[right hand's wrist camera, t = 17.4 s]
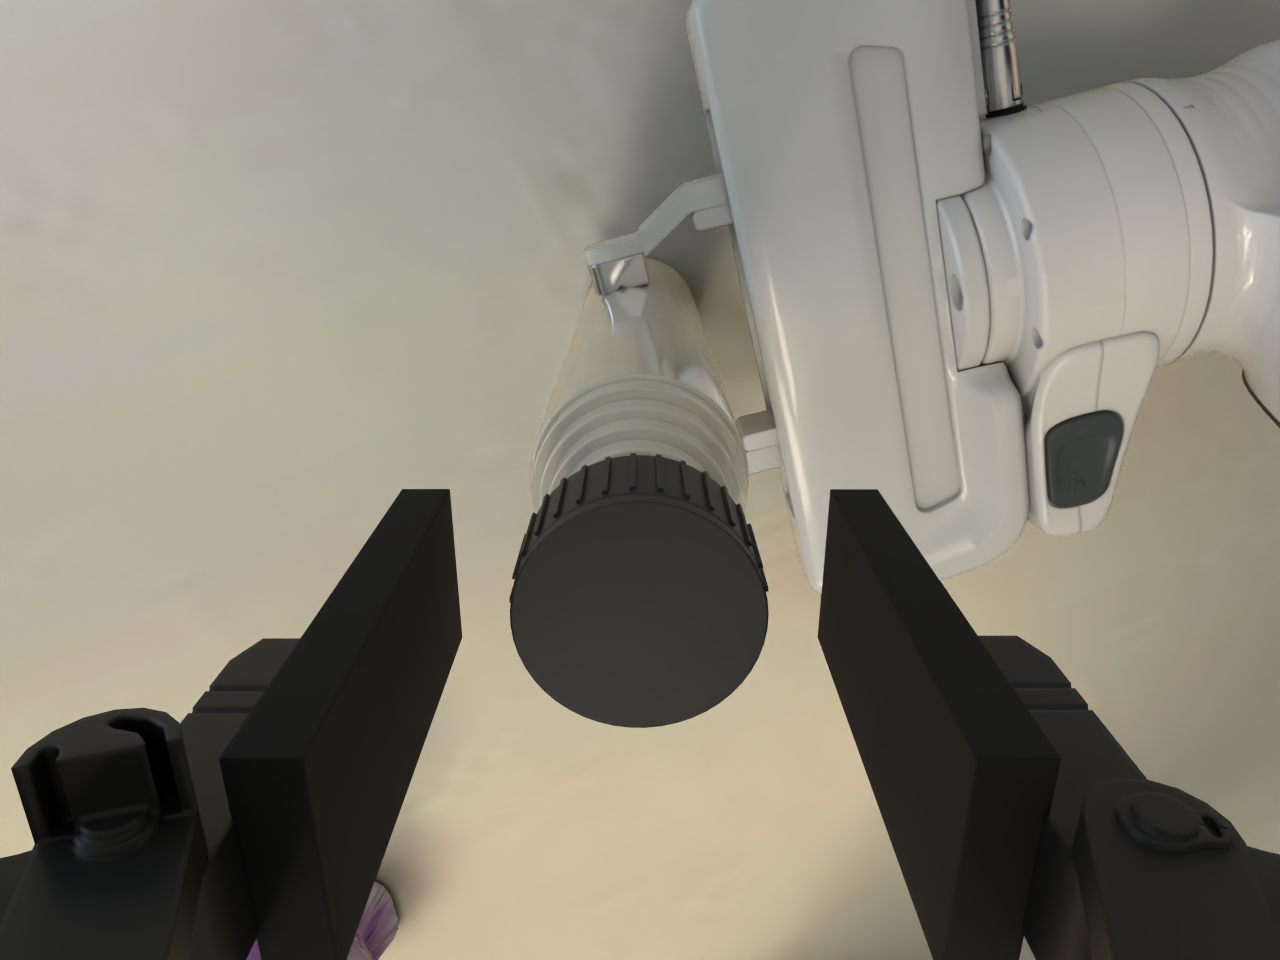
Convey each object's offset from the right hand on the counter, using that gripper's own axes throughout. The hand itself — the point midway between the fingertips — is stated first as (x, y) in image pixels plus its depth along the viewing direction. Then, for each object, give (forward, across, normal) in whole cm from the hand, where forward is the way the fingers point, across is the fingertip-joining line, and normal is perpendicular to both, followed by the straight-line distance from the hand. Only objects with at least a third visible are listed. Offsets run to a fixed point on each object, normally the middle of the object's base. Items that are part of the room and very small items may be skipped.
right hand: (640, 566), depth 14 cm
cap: (-1, 0, 0) cm, 1 cm away
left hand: (+16, -1, 0) cm, 16 cm away
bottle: (+22, 0, 0) cm, 22 cm away
